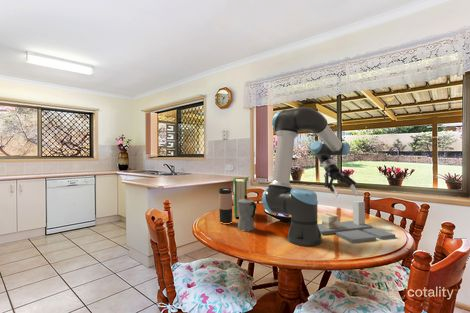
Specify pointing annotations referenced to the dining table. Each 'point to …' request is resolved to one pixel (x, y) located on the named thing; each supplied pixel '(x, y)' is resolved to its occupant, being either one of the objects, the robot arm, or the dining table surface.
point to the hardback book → (239, 192)
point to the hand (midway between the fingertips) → (347, 195)
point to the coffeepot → (246, 214)
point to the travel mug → (225, 205)
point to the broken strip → (364, 235)
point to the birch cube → (330, 221)
